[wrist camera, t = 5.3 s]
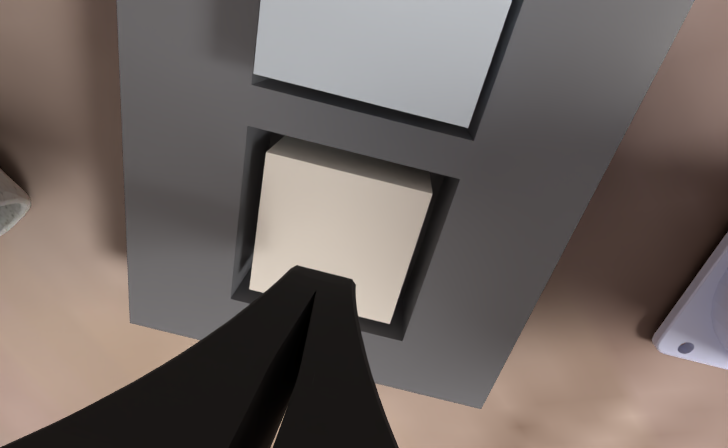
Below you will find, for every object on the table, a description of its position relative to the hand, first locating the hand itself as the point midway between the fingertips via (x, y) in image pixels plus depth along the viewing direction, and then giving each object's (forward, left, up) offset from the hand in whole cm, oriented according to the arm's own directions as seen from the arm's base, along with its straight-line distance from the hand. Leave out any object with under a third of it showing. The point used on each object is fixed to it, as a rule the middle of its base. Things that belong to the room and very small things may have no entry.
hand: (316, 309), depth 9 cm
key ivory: (0, 0, -5) cm, 5 cm away
